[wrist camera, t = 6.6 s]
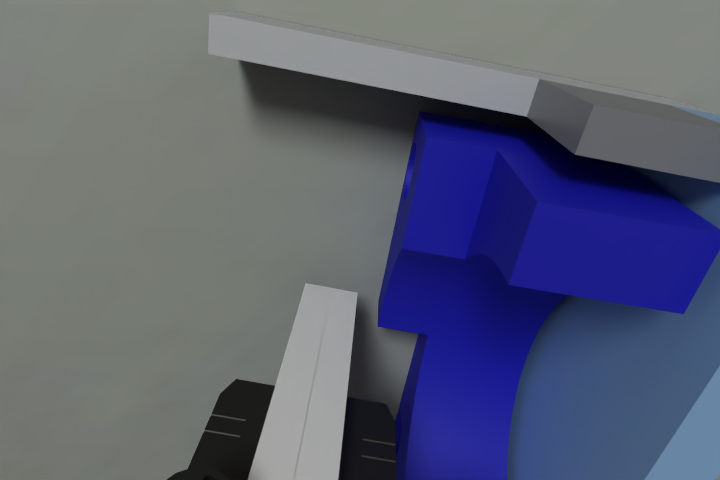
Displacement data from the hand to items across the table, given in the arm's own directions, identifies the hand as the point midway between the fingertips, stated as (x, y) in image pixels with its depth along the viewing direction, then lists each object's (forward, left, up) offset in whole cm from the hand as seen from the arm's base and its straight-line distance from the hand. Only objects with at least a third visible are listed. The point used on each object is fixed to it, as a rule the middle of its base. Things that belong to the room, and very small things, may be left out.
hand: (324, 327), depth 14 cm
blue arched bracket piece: (+4, 0, -2) cm, 4 cm away
